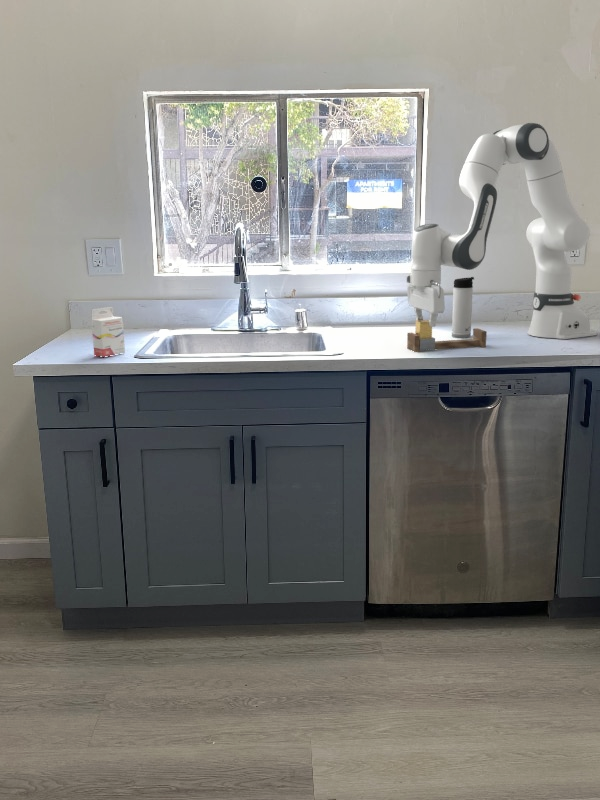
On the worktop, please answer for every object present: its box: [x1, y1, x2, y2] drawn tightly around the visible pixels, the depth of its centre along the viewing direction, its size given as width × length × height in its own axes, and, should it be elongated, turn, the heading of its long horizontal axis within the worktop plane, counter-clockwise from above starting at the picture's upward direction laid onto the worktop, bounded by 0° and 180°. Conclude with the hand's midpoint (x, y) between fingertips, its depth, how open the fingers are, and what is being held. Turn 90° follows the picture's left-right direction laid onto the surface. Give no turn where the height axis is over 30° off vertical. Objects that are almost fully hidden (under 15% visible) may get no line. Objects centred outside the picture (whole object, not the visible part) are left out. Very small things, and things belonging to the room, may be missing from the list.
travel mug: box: [451, 276, 475, 339], centre depth 246 cm, size 6×7×20 cm
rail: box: [406, 327, 488, 353], centre depth 230 cm, size 24×6×5 cm, turn 104°
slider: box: [414, 319, 436, 352], centre depth 228 cm, size 5×6×9 cm
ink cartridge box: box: [90, 306, 126, 357], centre depth 228 cm, size 9×5×15 cm, turn 141°
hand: (425, 324), depth 227 cm, fingers open, 8 cm apart
